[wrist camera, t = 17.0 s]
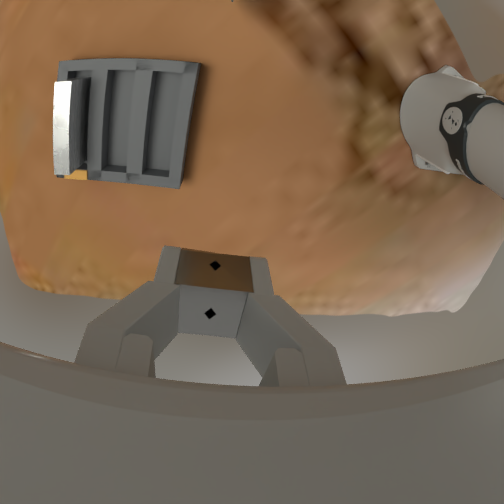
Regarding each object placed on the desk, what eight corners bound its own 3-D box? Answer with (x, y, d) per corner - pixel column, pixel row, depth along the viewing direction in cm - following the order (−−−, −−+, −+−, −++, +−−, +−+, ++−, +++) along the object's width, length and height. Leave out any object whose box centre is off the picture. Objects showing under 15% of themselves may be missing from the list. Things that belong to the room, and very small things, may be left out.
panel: (94, 76, 31) (71, 81, 25) (90, 157, 38) (69, 175, 32) (79, 76, 30) (55, 82, 25) (76, 156, 37) (54, 174, 31)
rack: (201, 63, 33) (198, 63, 30) (182, 179, 42) (179, 189, 39) (71, 60, 29) (58, 61, 26) (66, 168, 39) (55, 178, 36)
